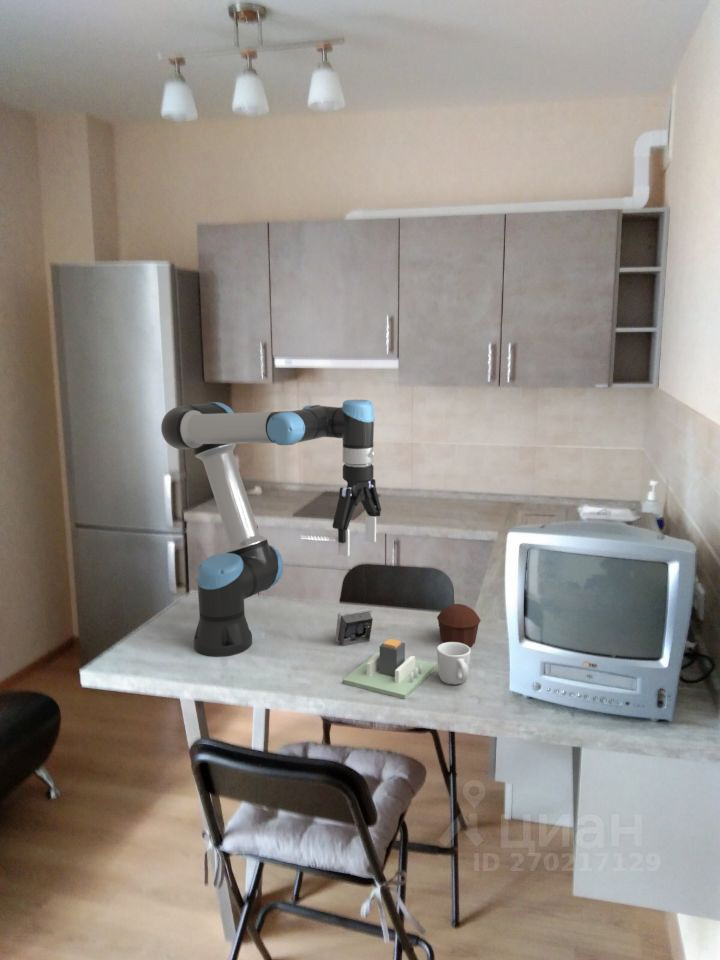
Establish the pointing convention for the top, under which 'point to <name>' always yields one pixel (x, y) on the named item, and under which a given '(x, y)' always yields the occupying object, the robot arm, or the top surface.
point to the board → (397, 686)
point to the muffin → (458, 624)
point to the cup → (453, 662)
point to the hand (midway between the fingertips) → (357, 547)
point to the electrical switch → (354, 627)
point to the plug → (391, 656)
